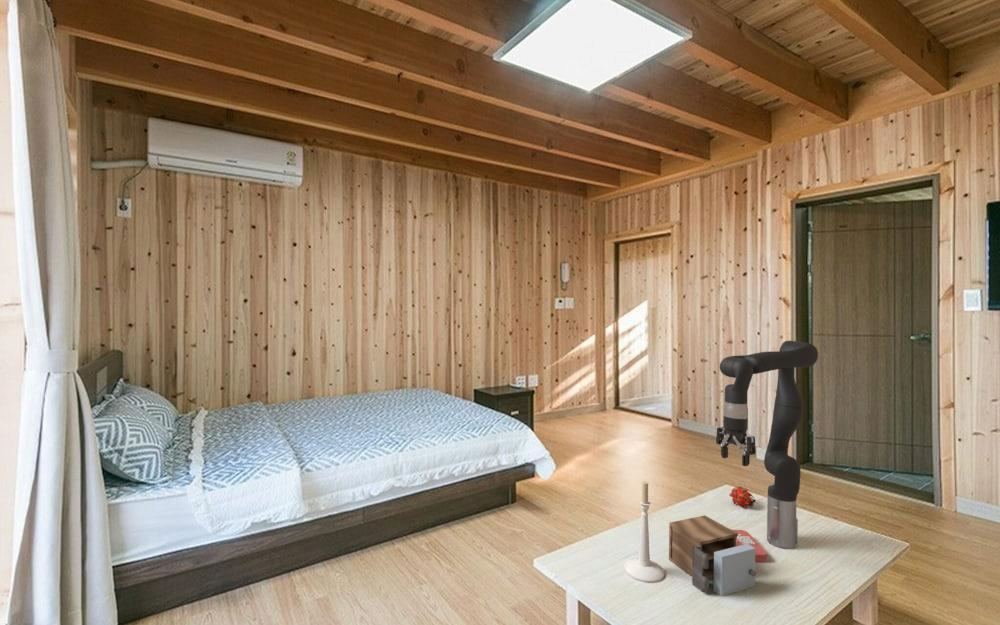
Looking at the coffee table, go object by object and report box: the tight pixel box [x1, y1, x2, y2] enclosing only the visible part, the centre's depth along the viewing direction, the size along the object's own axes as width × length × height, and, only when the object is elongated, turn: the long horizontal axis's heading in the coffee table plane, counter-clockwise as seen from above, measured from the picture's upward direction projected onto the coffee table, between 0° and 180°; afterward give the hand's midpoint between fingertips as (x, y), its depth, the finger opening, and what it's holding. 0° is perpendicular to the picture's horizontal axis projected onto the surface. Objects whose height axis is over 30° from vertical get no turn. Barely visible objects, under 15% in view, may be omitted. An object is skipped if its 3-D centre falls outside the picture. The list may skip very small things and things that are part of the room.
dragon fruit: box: [729, 486, 756, 509], centre depth 205 cm, size 8×8×12 cm
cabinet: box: [668, 514, 738, 593], centre depth 154 cm, size 20×20×13 cm
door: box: [713, 544, 756, 597], centre depth 145 cm, size 4×14×12 cm, turn 112°
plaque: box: [732, 529, 768, 564], centre depth 169 cm, size 18×4×15 cm
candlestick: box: [623, 481, 666, 584], centre depth 154 cm, size 13×13×30 cm
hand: (734, 461), depth 161 cm, fingers open, 8 cm apart
